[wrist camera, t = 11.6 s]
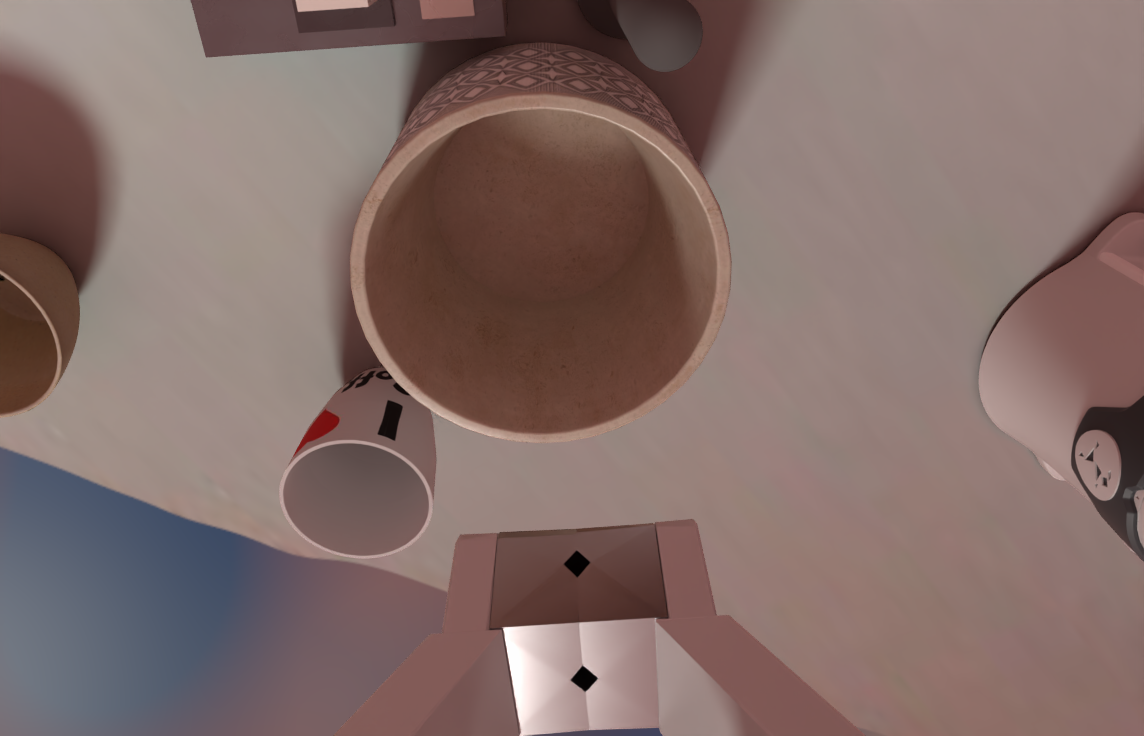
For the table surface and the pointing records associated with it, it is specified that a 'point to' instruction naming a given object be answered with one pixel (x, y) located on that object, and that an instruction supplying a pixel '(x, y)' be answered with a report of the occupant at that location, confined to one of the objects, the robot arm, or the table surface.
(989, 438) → the table surface
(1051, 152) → the table surface
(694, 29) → the post
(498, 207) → the planter
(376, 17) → the dark grey slotted tray
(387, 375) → the cup
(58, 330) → the flower pot
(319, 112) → the table surface
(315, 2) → the pale pink brick
